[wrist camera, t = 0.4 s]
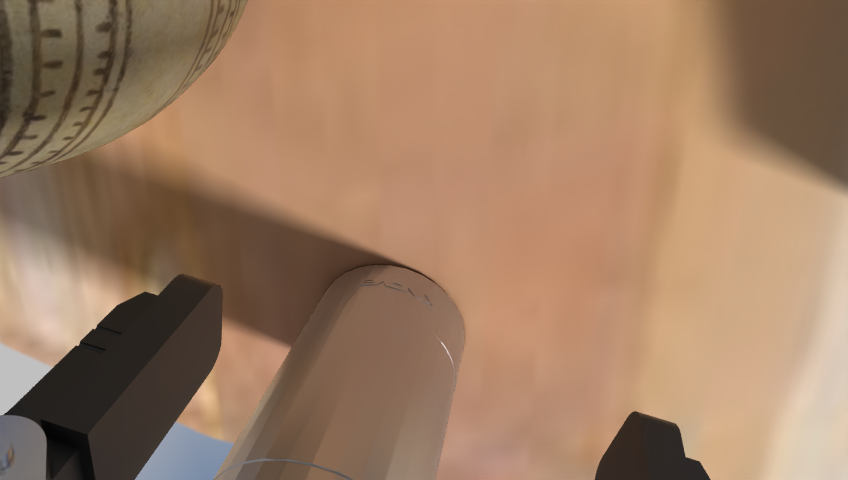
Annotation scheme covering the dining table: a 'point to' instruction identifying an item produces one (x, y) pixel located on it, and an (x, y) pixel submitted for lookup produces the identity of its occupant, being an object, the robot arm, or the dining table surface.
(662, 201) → the dining table surface
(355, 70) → the dining table surface
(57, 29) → the ceramic vessel
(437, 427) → the robot arm
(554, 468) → the dining table surface
